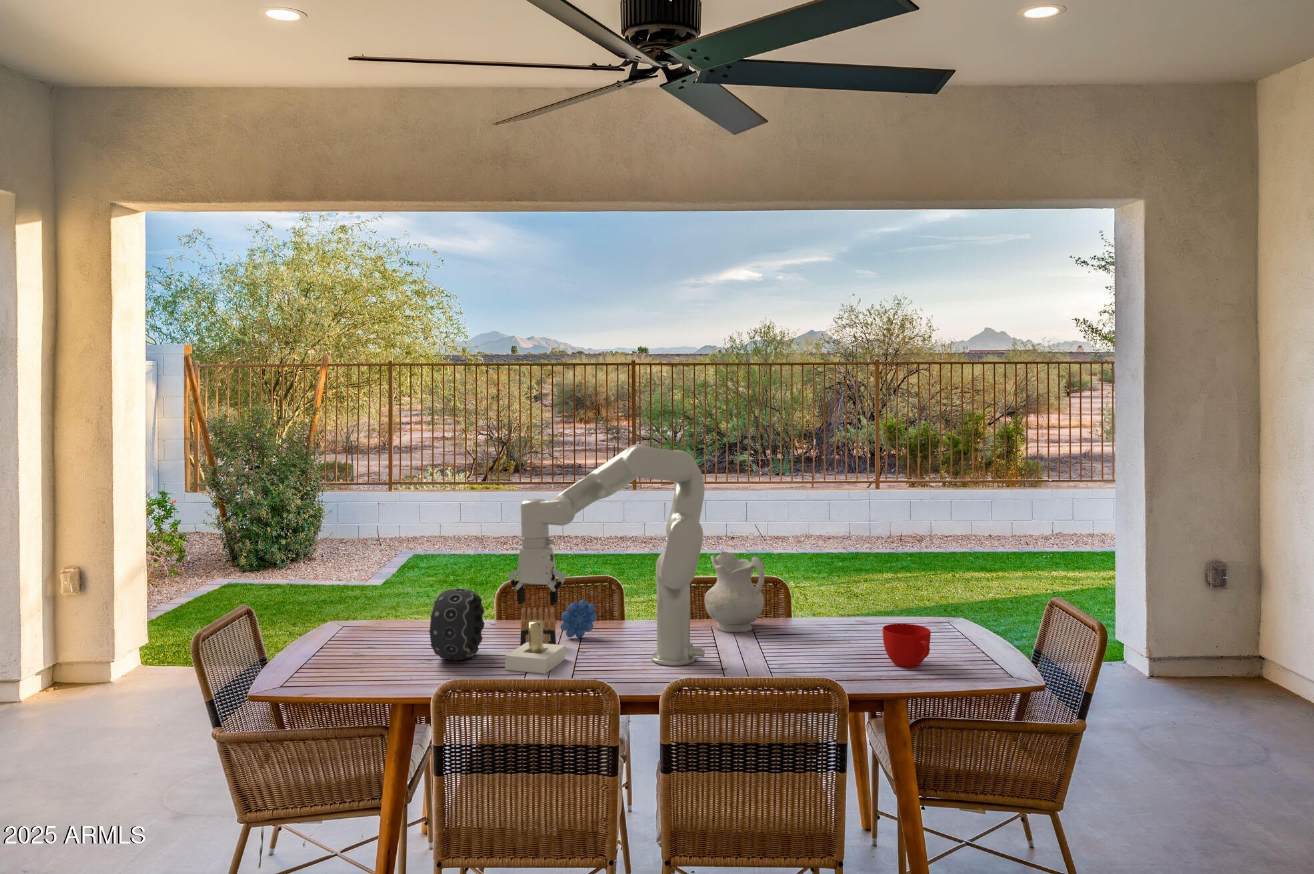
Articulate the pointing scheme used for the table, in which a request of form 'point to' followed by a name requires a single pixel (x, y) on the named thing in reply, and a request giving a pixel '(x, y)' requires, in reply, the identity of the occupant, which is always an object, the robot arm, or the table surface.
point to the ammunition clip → (548, 629)
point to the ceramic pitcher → (735, 593)
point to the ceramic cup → (906, 644)
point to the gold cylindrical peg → (536, 636)
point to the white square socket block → (535, 658)
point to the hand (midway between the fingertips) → (537, 603)
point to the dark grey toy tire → (456, 624)
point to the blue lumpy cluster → (578, 619)
